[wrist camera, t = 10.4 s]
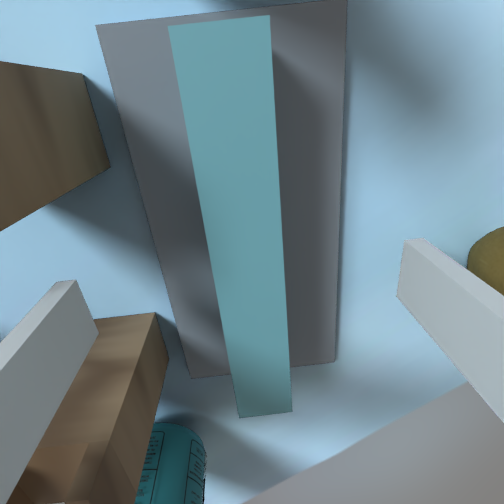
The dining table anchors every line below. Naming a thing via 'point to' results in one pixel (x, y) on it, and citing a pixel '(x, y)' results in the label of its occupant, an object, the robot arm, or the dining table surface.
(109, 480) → the post
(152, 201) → the mat
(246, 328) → the rail
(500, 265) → the potato
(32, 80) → the post
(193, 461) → the beverage bottle
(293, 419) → the dining table surface
